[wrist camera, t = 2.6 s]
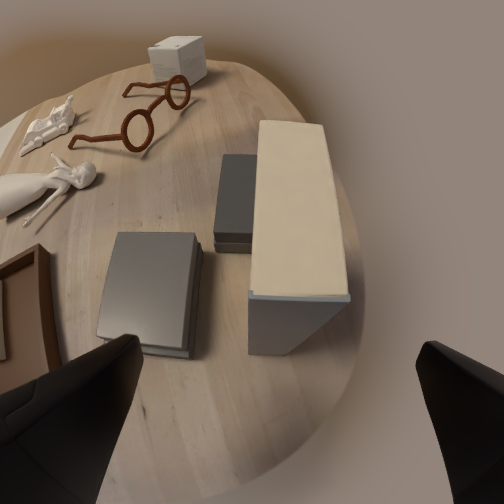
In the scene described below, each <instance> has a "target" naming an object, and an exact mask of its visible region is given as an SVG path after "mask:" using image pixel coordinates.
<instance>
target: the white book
mask: <svg viewBox="0 0 504 504" xmlns="http://www.w3.org/2000/svg"><path fill="white" fill-rule="evenodd" d="M350 302H351V299H350V294H349V293H348V281H347V271H346V261H345V252H344V243H343V235H342V228H341V220H340V213H339V207H338V201H337V194H336V189H335V183H334V177H333V172H332V167H331V162H330V157H329V152H328V148H327V143H326V138H325V133H324V129H323V126H322V125H316V124H308V123H298V122H287V121H274V120H260V122H259V138H258V155H257V172H256V189H255V206H254V223H253V240H252V257H251V274H250V290H249V293H248V355H271V356H285V355H286V354H288V353H289V352H290V351H292V350H293V349H294V348H296V347H297V346H298V345H299V344H301V343H302V342H303V341H305V340H306V339H307V338H308V337H310V336H311V335H312V334H313V333H315V332H316V331H317V330H318V329H320V328H321V327H322V326H323V325H324V324H326V323H327V322H328V321H329V320H330V319H332V318H333V317H334V316H335V315H336V314H337V313H339V312H340V311H341V310H342V309H343V308H344V307H346V306H347V305H348V304H349V303H350Z"/></svg>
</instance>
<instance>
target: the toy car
mask: <svg viewBox="0 0 504 504" xmlns="http://www.w3.org/2000/svg"><path fill="white" fill-rule="evenodd" d="M72 100H73V95H71V96H68V98H67V101H66V103H65V104H64V105H62V106H60V107H58V108H55V107H54V108H53V109H52V111H51V114H50V116H49V117H47V118H45V119H37V120H35V121H33V122H32V123H31V124H30V126H29V127H28V130H27V133H26V135H25V138H24V140H23V142H22V144H21V147H20V150H19V153H20V156H23V155H24V154H26V153H28V152H29V151H31V150H33V149H34V148H36V147H40V146H42V144H43V141H44V143H45V142H47V141H49V140H51V139H53V138H55V137H57V136H59V135H61V134H65V133H67V131H68V129H69V126H71V125H73V121H74V118H75V114H74V111H73V109H72V108H71V107H70V106H71V105H70V103H71V101H72ZM26 144H27V145H26Z"/></svg>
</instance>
